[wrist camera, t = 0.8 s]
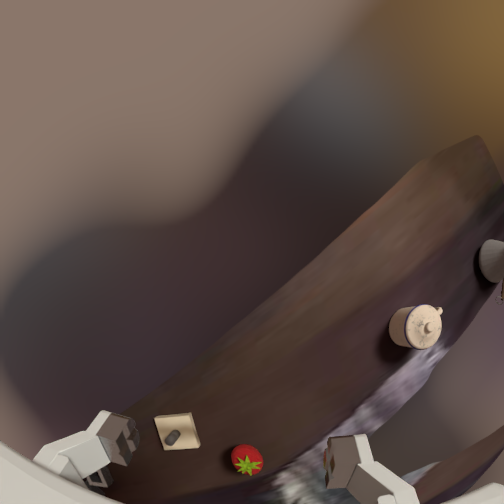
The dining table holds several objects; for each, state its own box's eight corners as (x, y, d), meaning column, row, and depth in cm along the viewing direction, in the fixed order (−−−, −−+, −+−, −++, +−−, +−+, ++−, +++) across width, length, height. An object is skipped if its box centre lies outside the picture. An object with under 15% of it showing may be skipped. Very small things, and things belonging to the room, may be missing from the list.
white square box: (105, 493, 49) (100, 499, 46) (96, 500, 48) (90, 506, 45) (89, 478, 50) (83, 483, 47) (80, 486, 49) (74, 490, 46)
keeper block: (200, 444, 53) (193, 457, 47) (167, 446, 53) (157, 458, 46) (190, 412, 55) (182, 422, 48) (157, 415, 55) (145, 425, 48)
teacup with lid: (396, 354, 56) (422, 360, 45) (380, 319, 58) (404, 318, 47) (435, 326, 57) (464, 326, 46) (420, 293, 59) (448, 286, 48)
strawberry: (251, 431, 54) (249, 449, 44) (269, 455, 52) (270, 477, 43) (227, 442, 53) (221, 461, 44) (245, 466, 52) (242, 488, 42)
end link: (113, 481, 50) (108, 487, 47) (95, 479, 50) (89, 484, 47) (105, 463, 52) (99, 468, 48) (88, 461, 52) (81, 466, 48)
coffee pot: (483, 233, 62) (517, 216, 47) (504, 262, 59) (539, 250, 45) (450, 291, 59) (489, 282, 44) (474, 321, 57) (512, 318, 42)
